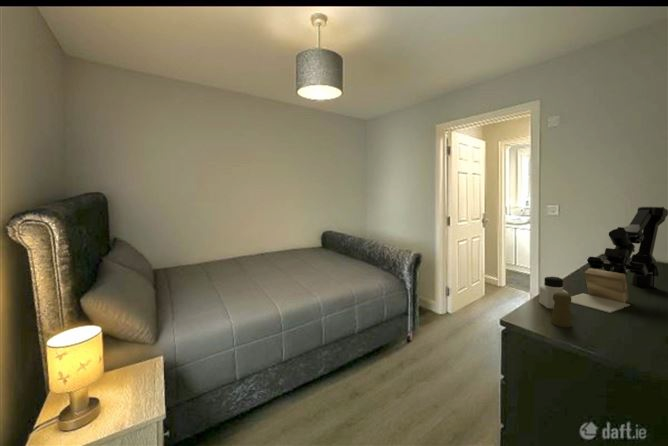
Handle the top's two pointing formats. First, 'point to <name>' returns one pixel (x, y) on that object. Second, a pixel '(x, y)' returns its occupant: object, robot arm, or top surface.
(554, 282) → the medicine bottle
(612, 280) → the letter block
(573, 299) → the felt mat
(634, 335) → the top surface
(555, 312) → the wooden pepper mill
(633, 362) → the top surface
